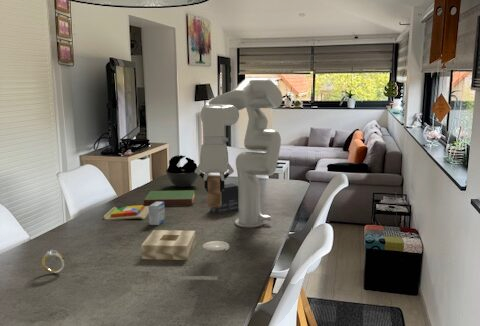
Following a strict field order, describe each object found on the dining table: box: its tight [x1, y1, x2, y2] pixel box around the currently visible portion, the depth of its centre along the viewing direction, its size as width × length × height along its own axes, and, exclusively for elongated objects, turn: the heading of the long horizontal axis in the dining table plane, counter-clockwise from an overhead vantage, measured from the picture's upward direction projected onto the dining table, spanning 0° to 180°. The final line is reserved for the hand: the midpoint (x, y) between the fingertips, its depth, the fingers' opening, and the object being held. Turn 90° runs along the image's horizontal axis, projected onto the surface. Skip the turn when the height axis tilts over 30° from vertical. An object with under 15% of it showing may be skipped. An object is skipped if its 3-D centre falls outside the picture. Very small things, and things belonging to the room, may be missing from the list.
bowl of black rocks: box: [165, 154, 200, 188], centre depth 264 cm, size 20×20×19 cm
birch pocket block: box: [140, 229, 197, 261], centre depth 161 cm, size 16×16×6 cm
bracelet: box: [41, 249, 66, 274], centre depth 145 cm, size 7×3×8 cm, turn 86°
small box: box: [209, 182, 239, 214], centre depth 216 cm, size 13×7×12 cm, turn 123°
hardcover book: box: [143, 189, 196, 207], centre depth 234 cm, size 25×19×4 cm
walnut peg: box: [207, 174, 222, 208], centre depth 163 cm, size 4×4×11 cm
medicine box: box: [148, 202, 166, 226], centre depth 197 cm, size 8×4×9 cm, turn 168°
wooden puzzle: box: [103, 204, 149, 221], centre depth 211 cm, size 18×19×4 cm
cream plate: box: [202, 240, 230, 252], centre depth 166 cm, size 10×10×1 cm
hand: (214, 190), depth 163 cm, fingers closed on walnut peg, 4 cm apart
